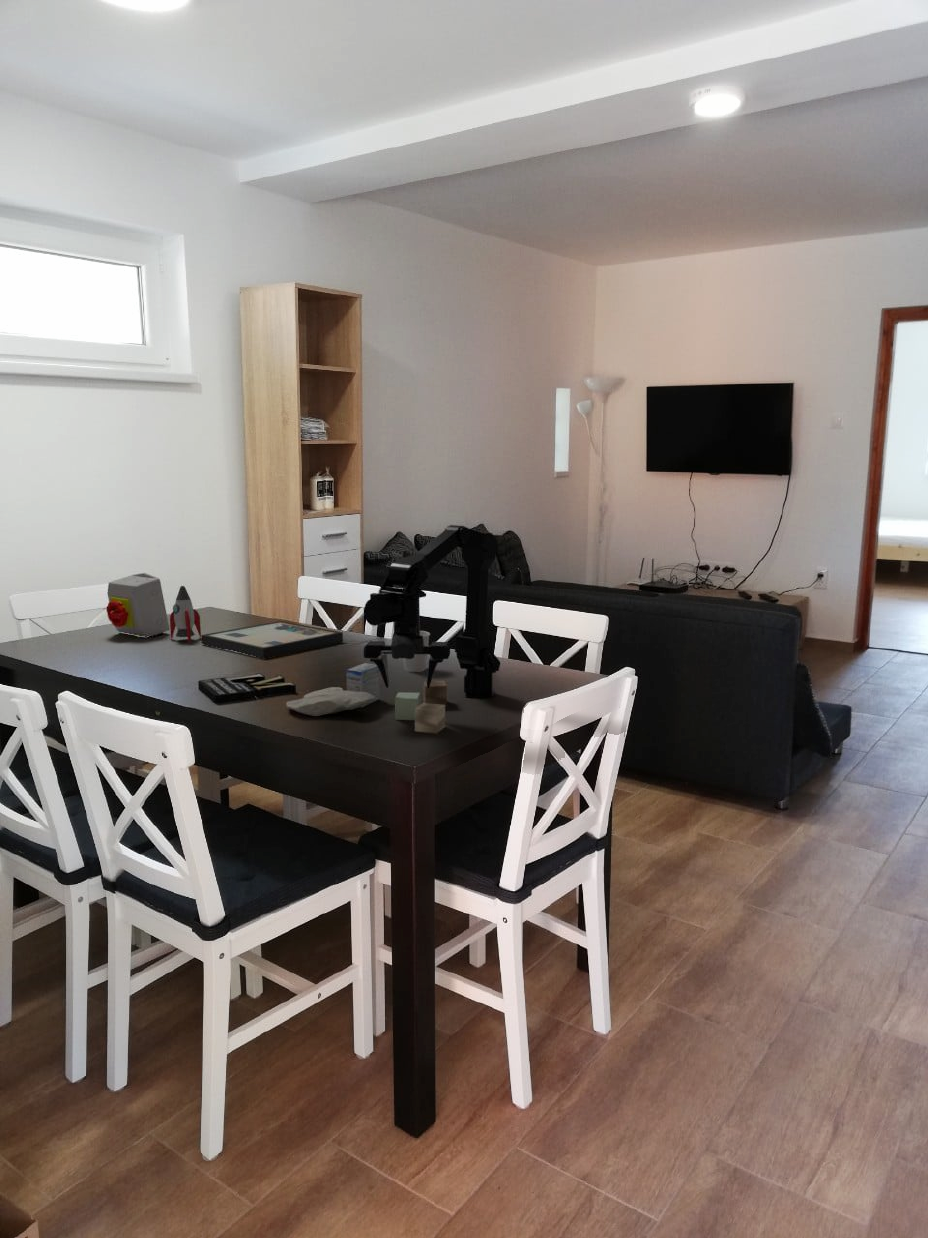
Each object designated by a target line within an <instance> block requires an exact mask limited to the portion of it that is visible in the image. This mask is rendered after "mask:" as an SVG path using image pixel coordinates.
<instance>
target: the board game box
mask: <svg viewBox="0 0 928 1238" xmlns="http://www.w3.org/2000/svg"><path fill="white" fill-rule="evenodd" d="M343 633H344V632H341V631H338V630H336V631H335V630H330V629H325V628H321V627H316V626H315V627H314V626H310V625H304V624H299V623H293V622H288V621H282V620H279V621H278V620H277V621H274V622H266V623H261V624H255V625H251V626H244V627H238V628H233V629H229V630H222V631H217V632H211V633H206V634H205V633H204V634H201V645H202V644H204V645H208V646H213V647H217V648H221V649H228V650H233V651H237V652H241V653H245V654H248V655H253V656H256V657H260V658H268V659H270V658H269V657H273V656H277V657H279V656H278V655H282V656H284V655H283V654H287V655H289V654H288V653H292V654H294V653H293V652H296V653H300V651H301V652H305V650H306V651H309V649H310V650H313V649H319V648H320V649H321V648H323V647H329V646H334V645H338V643H339V644H342V643H344V634H343ZM221 649H220V650H221ZM260 658H259V659H260ZM273 658H274V657H273Z"/></svg>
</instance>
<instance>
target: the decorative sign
mask: <svg viewBox="0 0 928 1238" xmlns="http://www.w3.org/2000/svg"><path fill="white" fill-rule="evenodd" d="M197 683H198V684H197V685H198V691H200V693H202V694H203V695H205V697H207V698H208V699H209V700H210V701H212V703H214V704H215V705H221V704H228V703H234V702H241V701H242V702H243V701H251V700H254V699H255V700H256V698H257V699H262V698H263V696H264V697H270V696H269V695H271V696H277V694H278V695H285V694H284V693H286V694H292V693H295V694H297V685H296V684H295V683H294V682H293V681H290V682H288V681H287V682H286V680H285V677H284V675H283V676H282V675H281V674H278V675H276V676H274V677H271V678H270V677H269V678H266V676H265V675H263V673H260V672H259V673H256V674H250V675H241V676H234V677H225V676H224V677H217V678H210V679H202V680H198V681H197ZM255 696H256V697H255ZM250 699H251V700H250Z"/></svg>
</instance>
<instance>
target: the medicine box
mask: <svg viewBox="0 0 928 1238" xmlns="http://www.w3.org/2000/svg"><path fill="white" fill-rule="evenodd" d="M380 681H381V680H380V670H379V668H378V666H377V665H376V664H375V663H366V662H364V663H362V664H359V665H356V666H353V667H350V668H349V669H347V670H346V691H353V692H368V693H369V694H371V695H373V696H375V699H374V700H373V701H371V702H369V703H367V704H364V705H362V706H360V707H359V708H364V707H366V706H368V705H370V704H372V703H375V702H377V701H378V700H380V697H381V695H380V691H381V690H380V688H381V687H380Z"/></svg>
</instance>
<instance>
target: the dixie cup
mask: <svg viewBox="0 0 928 1238" xmlns="http://www.w3.org/2000/svg"><path fill="white" fill-rule="evenodd" d="M420 636H423V640H424V646H429V642H430V641H429V640H430V636H431V633H430V632H428V631H425V630H420ZM427 659H428V654H414V658H412V659H407V658H402V660H403V665H404V666H403V667H404V671H406V672H409V673H419V672H420V673H421V672H424V671H426V667H427Z"/></svg>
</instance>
